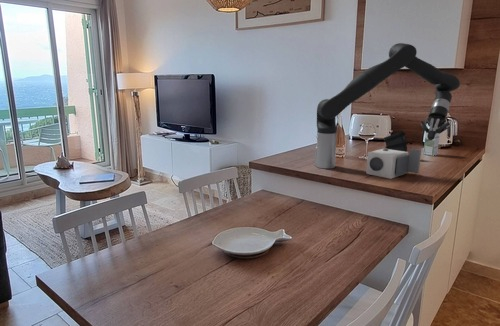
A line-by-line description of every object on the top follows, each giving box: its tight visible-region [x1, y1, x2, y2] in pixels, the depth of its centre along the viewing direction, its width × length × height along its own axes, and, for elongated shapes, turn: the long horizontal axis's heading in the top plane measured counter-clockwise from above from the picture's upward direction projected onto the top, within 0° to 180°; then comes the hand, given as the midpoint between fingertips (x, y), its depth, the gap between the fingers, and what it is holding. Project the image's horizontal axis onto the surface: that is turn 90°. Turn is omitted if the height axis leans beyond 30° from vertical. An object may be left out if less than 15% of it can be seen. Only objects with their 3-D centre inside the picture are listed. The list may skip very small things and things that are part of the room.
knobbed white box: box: [365, 147, 409, 180], centre depth 158 cm, size 12×15×11 cm
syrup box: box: [423, 132, 441, 157], centre depth 198 cm, size 6×6×14 cm
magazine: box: [383, 130, 409, 152], centre depth 191 cm, size 4×13×15 cm, turn 35°
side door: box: [396, 148, 422, 177], centre depth 151 cm, size 6×10×11 cm, turn 130°
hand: (430, 139), depth 159 cm, fingers closed
